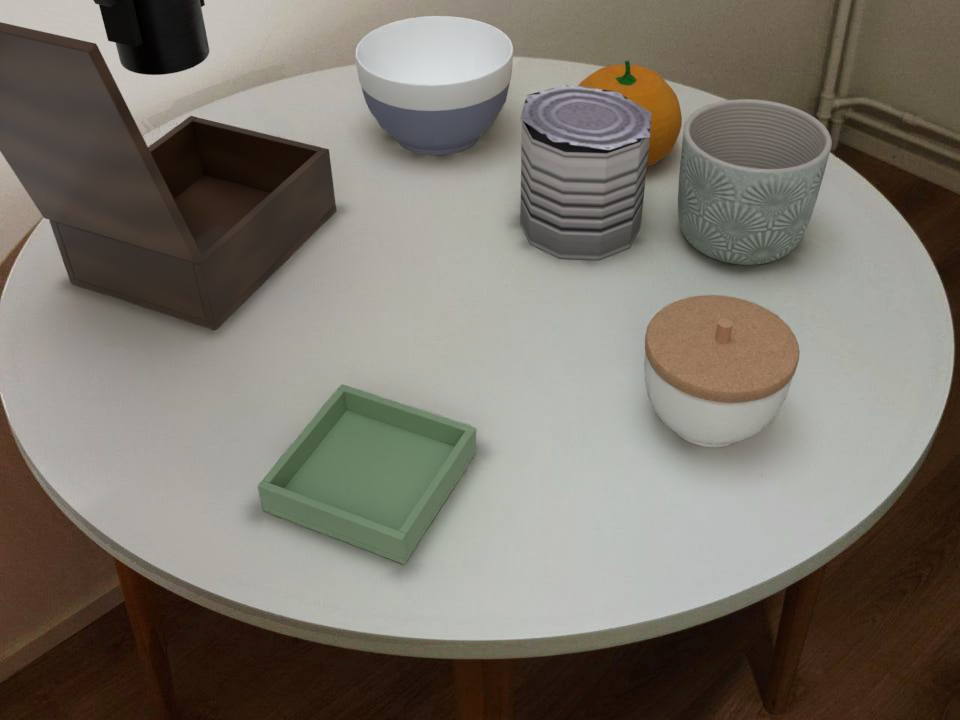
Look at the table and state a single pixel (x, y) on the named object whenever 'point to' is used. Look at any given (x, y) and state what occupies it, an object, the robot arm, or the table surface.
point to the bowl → (435, 80)
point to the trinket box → (718, 368)
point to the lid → (82, 144)
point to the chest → (213, 222)
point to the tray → (369, 472)
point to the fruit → (644, 102)
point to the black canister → (166, 37)
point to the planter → (750, 179)
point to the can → (582, 171)
